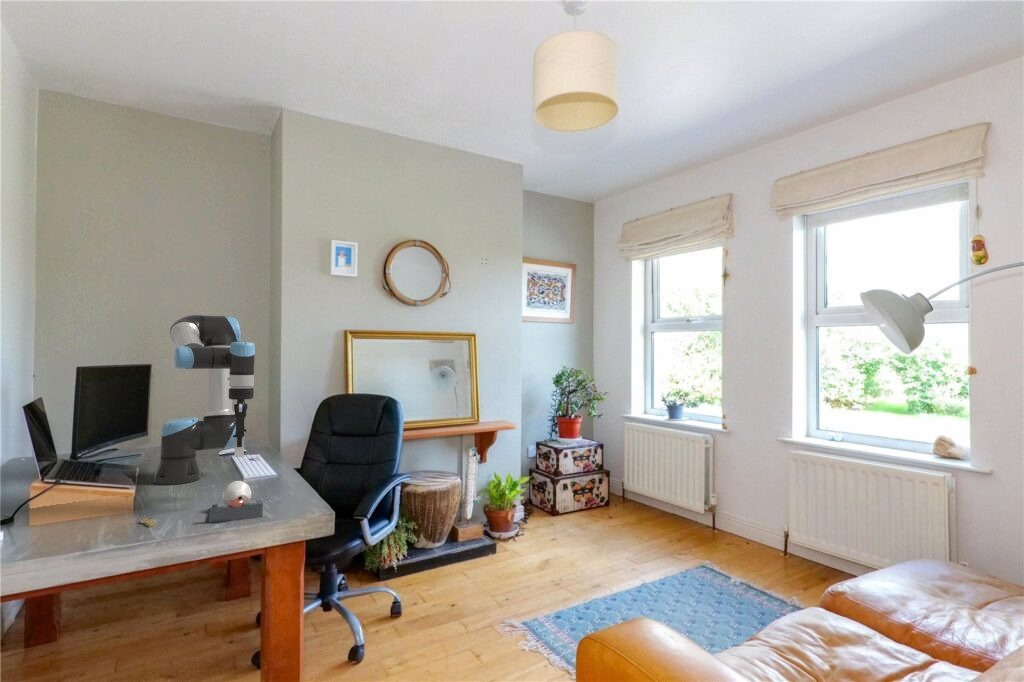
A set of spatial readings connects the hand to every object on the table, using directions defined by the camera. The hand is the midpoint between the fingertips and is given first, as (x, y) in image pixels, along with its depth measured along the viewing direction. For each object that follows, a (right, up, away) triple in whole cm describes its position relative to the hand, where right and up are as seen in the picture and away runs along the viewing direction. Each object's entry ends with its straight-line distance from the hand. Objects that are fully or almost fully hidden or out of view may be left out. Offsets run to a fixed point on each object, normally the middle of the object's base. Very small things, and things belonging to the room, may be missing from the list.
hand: (239, 453), depth 175 cm
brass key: (-12, -15, -26) cm, 32 cm away
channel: (+7, -15, -15) cm, 22 cm away
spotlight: (+7, -15, -13) cm, 21 cm away
